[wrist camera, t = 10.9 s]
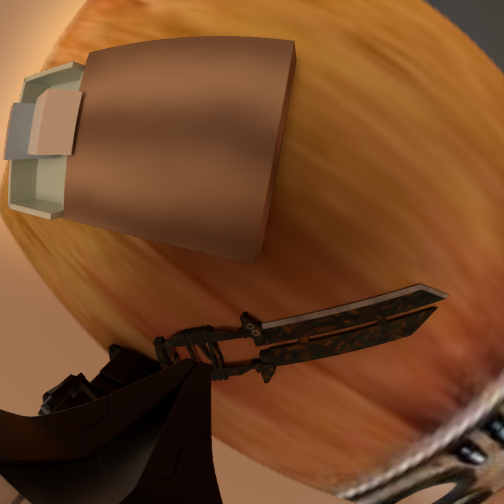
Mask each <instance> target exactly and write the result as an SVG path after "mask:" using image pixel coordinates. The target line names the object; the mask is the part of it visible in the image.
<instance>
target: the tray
mask: <svg viewBox="0 0 504 504" xmlns="http://www.w3.org/2000/svg"><path fill="white" fill-rule="evenodd" d="M84 69H85V66H84V65H82V64H79V63H76V62H70V63H67V64H64V65H60V66H57V67H54V68H51V69H48V70H45V71H42V72H39V73H37V74H34V75H32V76H29V77H26V78H25V79H24V83H23V87H22V91H21V95H20V99H19V103H36V101H37V98H38V97H39V96H40V95H41V94H43V93H44V92H45V91H46V90H47V89H48V88H49V89H60V90H70V91H79V88H80V84H81V80H82V76H83V73H84ZM66 163H67V155H53V159H15V160H10V167H9V183H8V208H10V209H14V210H17V211H21V212H24V213H28V214H31V215H35V216H39V217H42V218H46V219H50V220H52V219H56V218H60V217H63V206H64V186H65V173H66Z"/></svg>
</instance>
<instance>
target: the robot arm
mask: <svg viewBox="0 0 504 504" xmlns="http://www.w3.org/2000/svg"><path fill="white" fill-rule="evenodd" d="M108 349H109V356H110V361H109V362H108V363H107V364H106V365H105V366H104V367H103V368H102V369H101V370H100V373H99V374H98V375H97V376H96V377H95V378H94V379H93V380H92V381H91V382H89V381H88V380H86V378H85V376H84V375H83V374H82V373H80V374H78V375H77V376H74V375H72V374H71V375H70V376H68V377H67V378H66V379H65V380H64V381H63V382H61V383H60V384H59V385H57V386H56V387H54V388H52V389H51V390H49V391H47V392H46V393H45V394H44V395H43V404H42V406H41V409H40V411H39V412H38V415H39V416H33V417H27V416H21V415H17V414H13V413H10V412H6V411H4V410H1V409H0V504H223V503H222V499H221V495H220V491H219V487H218V483H217V478H216V474H215V469H214V463H213V455H212V438H211V437H212V432H211V365H210V364H206V363H203V362H198V361H197V360H194V359H191V358H185V359H183V360H181V361H179V362H177V363H175V364H173V365H171V366H169V367H167V368H165V369H162V367H161V365H160V363H158V362H155V361H153V360H150V359H148V358H145V357H142V356H140V355H138V354H135V353H133V352H130V351H128V350H126V349H123V348H121V347H119V346H116V345H114V344H111V345H110V346H109V348H108Z"/></svg>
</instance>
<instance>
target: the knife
mask: <svg viewBox="0 0 504 504" xmlns="http://www.w3.org/2000/svg"><path fill="white" fill-rule="evenodd" d="M448 296H449V295H447V294H445V293H442V292H440V291H437V290H435V289H432V288H430V287H427V286H425V285H422V284H419V285H416V286H412V287H409V288H406V289H402V290H399V291H396V292H392V293H389V294H385V295H382V296H378V297H374V298H371V299H367V300H363V301H360V302H356V303H352V304H348V305H344V306H340V307H336V308H332V309H328V310H324V311H319V312H315V313H311V314H306V315H302V316H297V317H292V318H288V319H283V320H278V321H273V322H268V323H263V324H262V322H256V323H255V322H253V321H252V320H250V319H249V317H248V314H247V312H243V315H241V317H240V319H241V322H242V327H241V328H240V329H239V331H238V332H232V331H227V330H221V331H214V332H212V331H213V329H214V327H212V326H210V325H207V326H205V327H204V326H201V327H199V328H198V327H195V328H190V329H184V330H182V331H181V332H180V334H175V335H173V336H172V337H171V338H170V339H168V340H166V342H165V340H164V338H163V337H157V338H156V339H155V340H154V342H153V344H154V346H155V350H156V355H157V358H158V360H159V362H160V365H161V367H162V369H165V368H167V367H169V366H171V365H173V363H174V364H175V363H177V360H176V359H177V358H178V357H179V354H175V355H174V354H173V352H172V350H171V348H170V347H178V346H186V347H187V350H188V352H189V354H190V356H191V358H192V359H194V360H197V358H196V356H195V354H194V352H193V350H192V348H191V346H194V345H195V344H197V346H198V347H199V348H200V349H201V351H202V352H203V353H204V354H205V355H206V356H207V358H208V359H209V360H210V361H212V364H213V368H211V380H213V381H216V380H222V379H224V380H228V378H229V376H235V375H242V374H244V373H245V372H247V371H249V370H251V369H256V371H257V373H260V372H262V373H261V375H262V378H263V380H264V383H269V381H270V379H271V378H272V376H273V374H274V373H275V370H276V366H281V365H288V364H293V363H299V362H305V361H310V360H315V359H320V358H325V357H330V356H334V355H339V354H343V353H348V352H352V351H356V350H360V349H364V348H368V347H372V346H375V345H379V344H383V343H386V342H390V341H393V340H397V339H400V338H403V337H407V336H410V335H412V334H413V333H414V332H415V331H416V330H417V329H418V328H419V327H420V326H421V325H422V324H423V323H424V322H425V321H426V320H427V319H428V318H429V317H430V315H431V314H432V313H433V312H434V311H435V310H436V309H437V308H438V307H431V308H428V309H425V310H422V311H419V312H416V313H413V314H410V315H406V316H403V317H400V318H396V319H393V320H389V321H386V317H390V316H393V315H396V314H400V313H403V312H406V311H410V310H413V309H416V308H419V307H422V306H425V305H428V304H431V303H434V302H437V301H440V300H443V299H446V298H447V297H448ZM375 320H378V324H375V325H371V326H368V327H364V328H360V329H356V330H352V331H348V332H344V333H340V334H335V335H331V336H327V337H322V338H317V339H313V340H308V337H309V336H313V335H318V334H323V333H327V332H331V331H336V330H340V329H344V328H348V327H352V326H356V325H360V324H364V323H368V322H372V321H375ZM243 337H244V338H248V337H252V338H253V340H254V342H255V345H256V346H262V345H268V344H272V343H278V342H283V341H289V340H294V339H298V343H293V344H287V345H282V346H276V347H271V348H269V349H266V350H261V351H260V354H259V356H260V360H257V359H252V361H251V364H248V365H240V366H231V367H223V363H222V359H223V356H222V354H221V351H220V350H219V347H218V344H217V341H224V340H230V339H237V338H243ZM213 342H214V343H213ZM206 343H208V346H209V350H210V353H209V352H208V351H207V350H206V349H205V347H204V346H203V345H202V344H206ZM165 348H166V349H167V351H168V353H169V355H170V357H171V359H172V361H173V363H172V361H171V359H170V357H169V355H168V353H167V351H166V349H165ZM215 354H216V356H217V360H218V365H219V368H218V367H217V362H216V358H215Z"/></svg>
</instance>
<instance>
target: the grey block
mask: <svg viewBox="0 0 504 504" xmlns="http://www.w3.org/2000/svg"><path fill="white" fill-rule="evenodd" d="M35 106H36V103H13V105H12V107H11V111H10V116H9V122H8V128H7V134H6V141H5V149H4V158H3V159H5V160H15V159H53V155H32V154H28V148H29V140H30V133H31V127H32V121H33V116H34V111H35Z"/></svg>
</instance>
